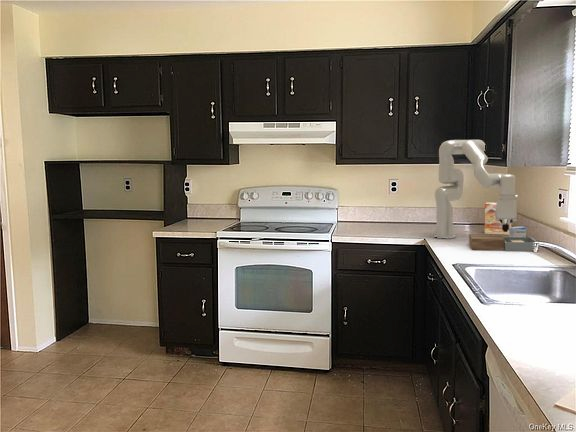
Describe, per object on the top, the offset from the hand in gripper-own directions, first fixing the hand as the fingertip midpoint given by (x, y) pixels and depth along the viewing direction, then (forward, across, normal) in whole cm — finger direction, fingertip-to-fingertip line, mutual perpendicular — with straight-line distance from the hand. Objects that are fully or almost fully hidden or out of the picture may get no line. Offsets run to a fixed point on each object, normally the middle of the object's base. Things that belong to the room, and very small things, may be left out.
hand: (505, 231), depth 265 cm
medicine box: (+9, -10, -18) cm, 23 cm away
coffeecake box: (+10, -4, -49) cm, 50 cm away
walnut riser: (+9, +10, +1) cm, 13 cm away
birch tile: (+5, -6, +1) cm, 8 cm away
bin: (+9, -7, +1) cm, 11 cm away
